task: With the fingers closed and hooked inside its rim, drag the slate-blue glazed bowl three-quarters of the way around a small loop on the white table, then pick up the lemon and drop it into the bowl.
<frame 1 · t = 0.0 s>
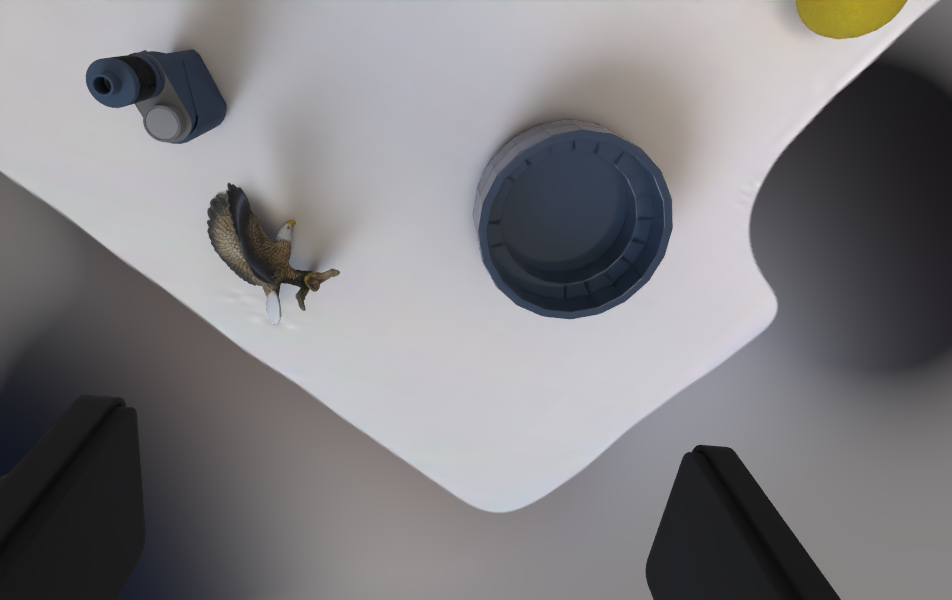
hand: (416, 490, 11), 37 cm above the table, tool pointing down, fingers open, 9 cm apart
vaping device: (199, 87, 42), on the table
eagle figurine: (272, 237, 47), on the table
bowl: (561, 209, 47), on the table
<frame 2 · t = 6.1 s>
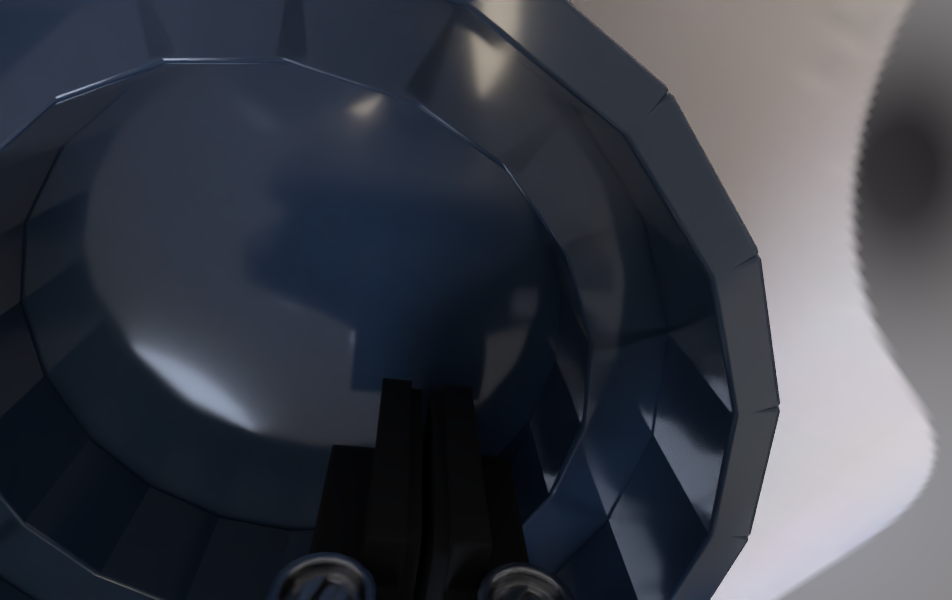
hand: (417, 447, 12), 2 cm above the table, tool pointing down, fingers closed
bowl: (309, 316, 12), on the table, touching gripper
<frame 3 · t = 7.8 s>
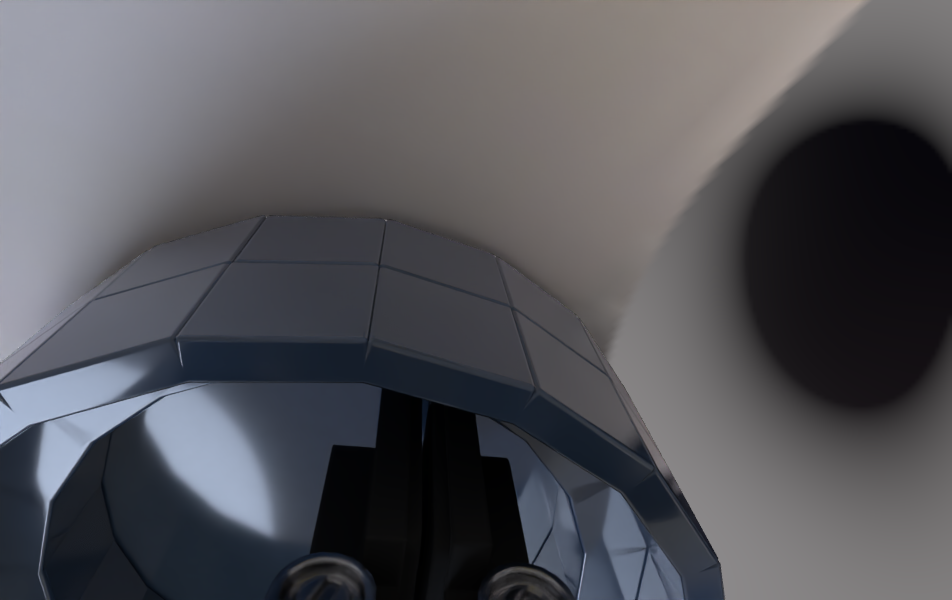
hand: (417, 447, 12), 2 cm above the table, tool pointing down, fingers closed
bowl: (342, 487, 14), on the table, touching gripper
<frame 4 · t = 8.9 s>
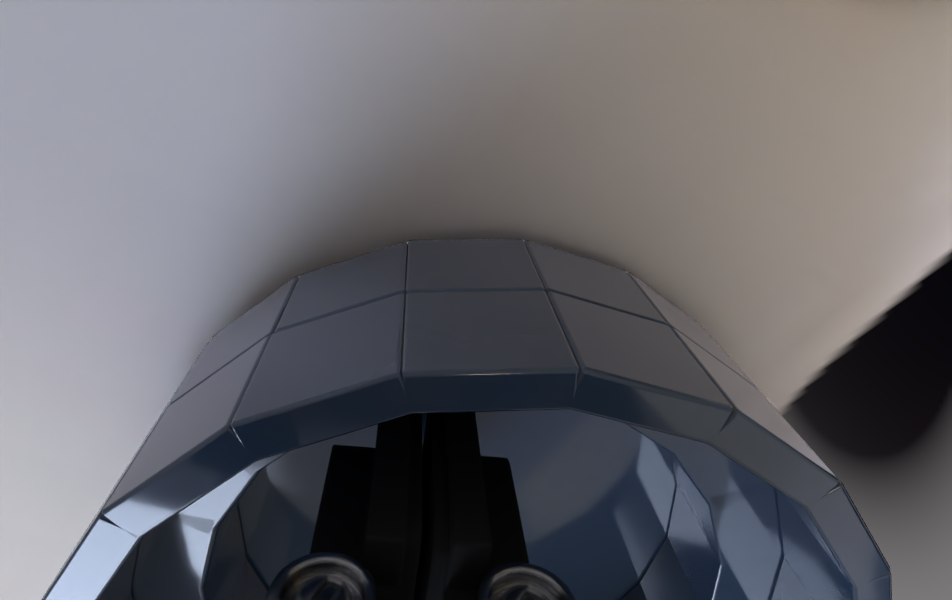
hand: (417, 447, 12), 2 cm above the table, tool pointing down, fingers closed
bowl: (461, 500, 15), on the table, touching gripper
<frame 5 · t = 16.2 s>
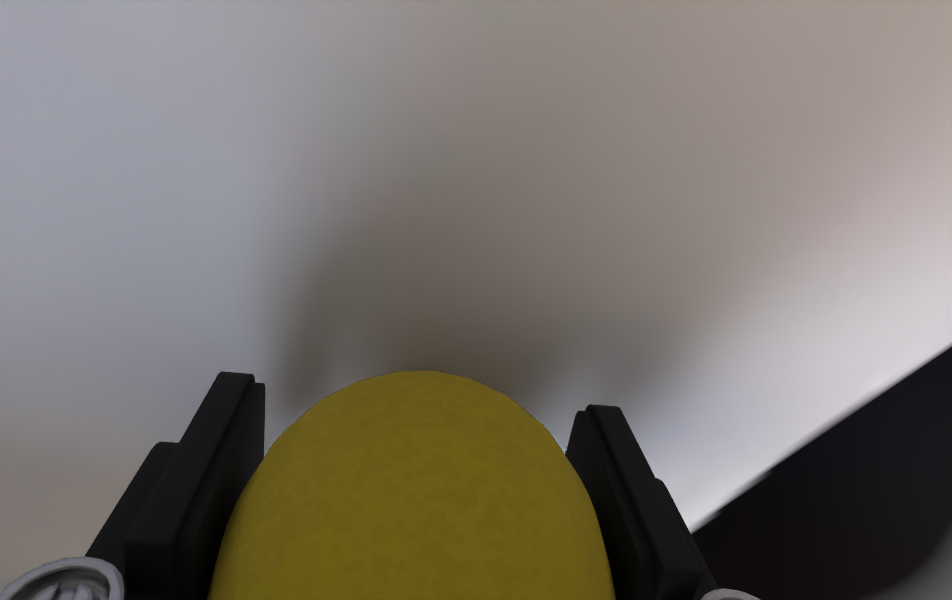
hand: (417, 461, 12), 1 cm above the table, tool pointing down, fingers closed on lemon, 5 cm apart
lemon: (417, 413, 13), on the table, touching gripper
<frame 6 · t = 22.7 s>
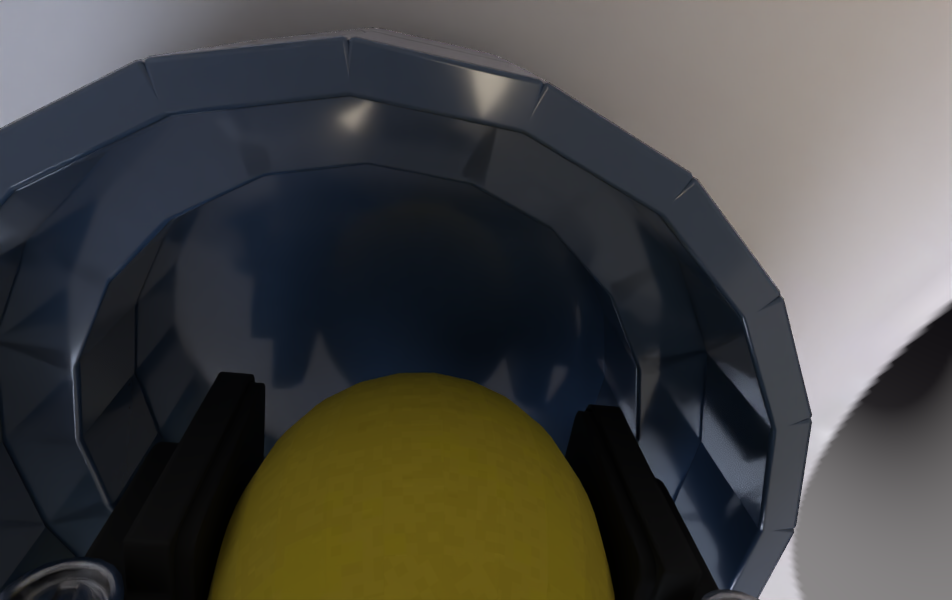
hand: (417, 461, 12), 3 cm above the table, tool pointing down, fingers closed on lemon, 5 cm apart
lemon: (417, 415, 13), point 1 cm above the table, touching gripper
bowl: (380, 358, 14), on the table, touching gripper
when the fingers open (5 cm above the table, at t = 33.1 s): lemon drops 3 cm, resting on bowl.
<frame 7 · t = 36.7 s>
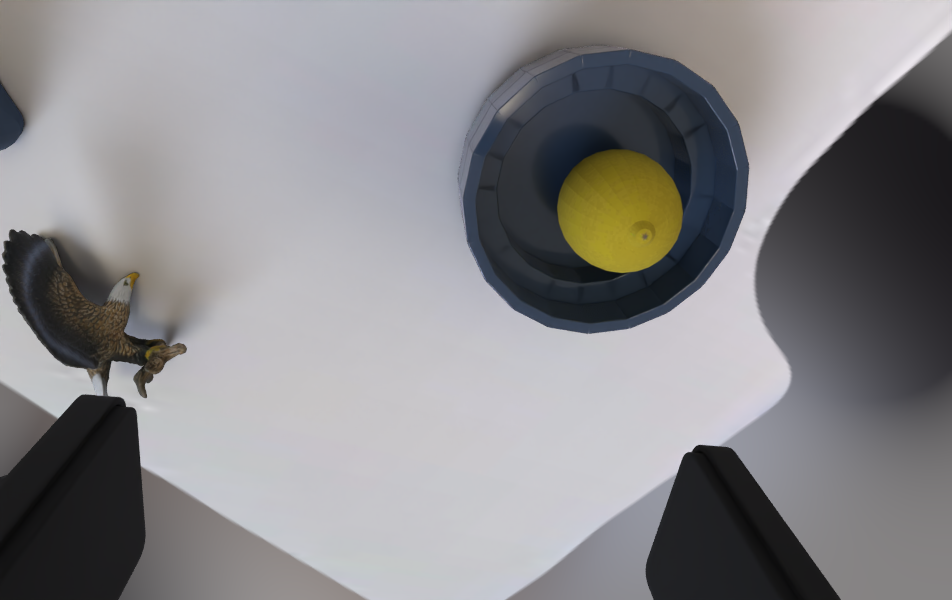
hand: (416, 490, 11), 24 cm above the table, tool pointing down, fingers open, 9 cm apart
eagle figurine: (110, 295, 35), on the table
lemon: (595, 188, 34), resting on bowl
bowl: (581, 178, 34), on the table, touching lemon
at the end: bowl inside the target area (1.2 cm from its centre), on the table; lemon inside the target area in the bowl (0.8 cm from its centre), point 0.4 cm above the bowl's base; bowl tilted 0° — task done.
